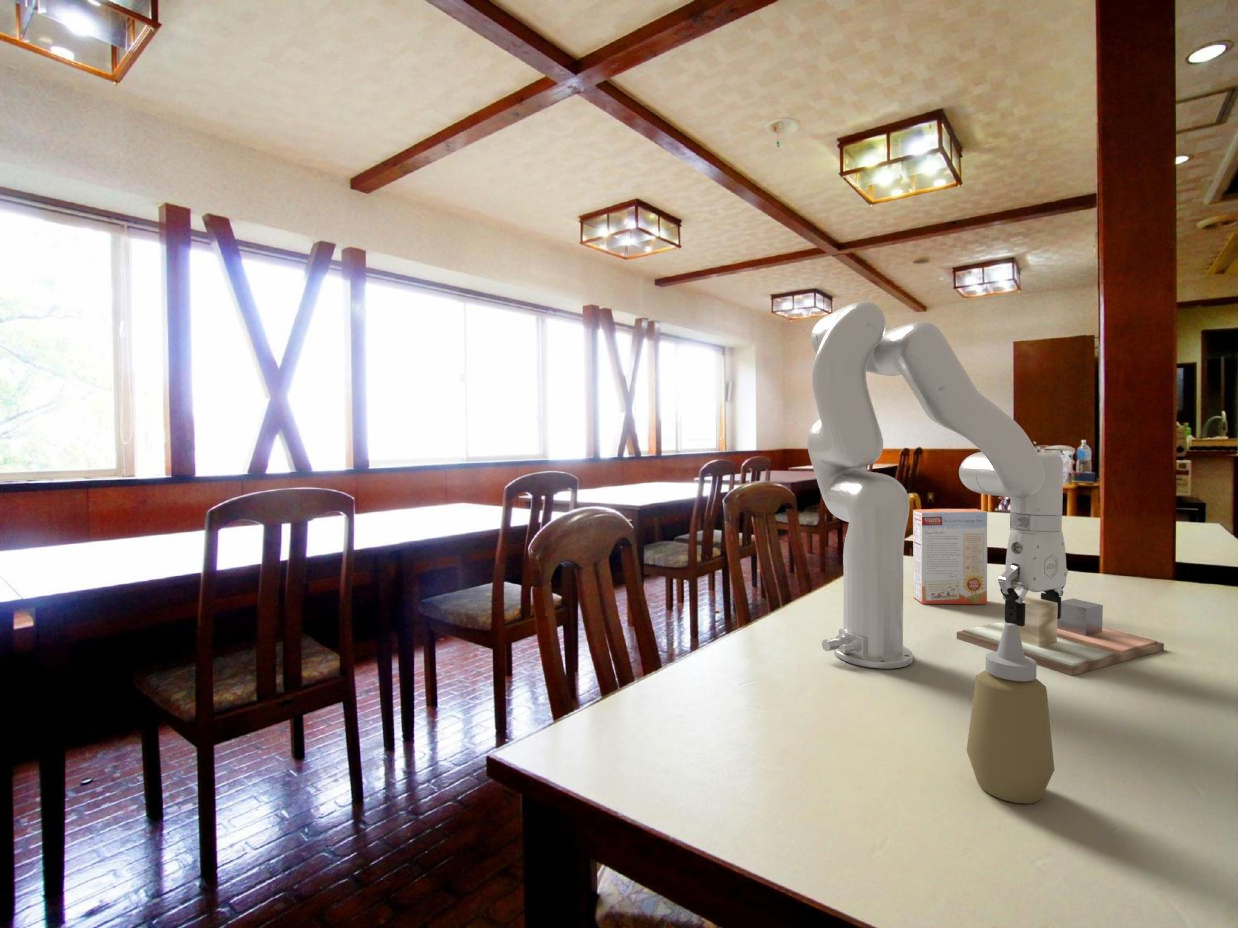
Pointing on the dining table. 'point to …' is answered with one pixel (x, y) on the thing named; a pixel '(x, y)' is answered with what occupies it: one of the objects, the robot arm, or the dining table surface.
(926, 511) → the cracker box
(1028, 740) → the squeeze bottle
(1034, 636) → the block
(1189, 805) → the dining table surface
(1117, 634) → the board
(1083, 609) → the metal block
